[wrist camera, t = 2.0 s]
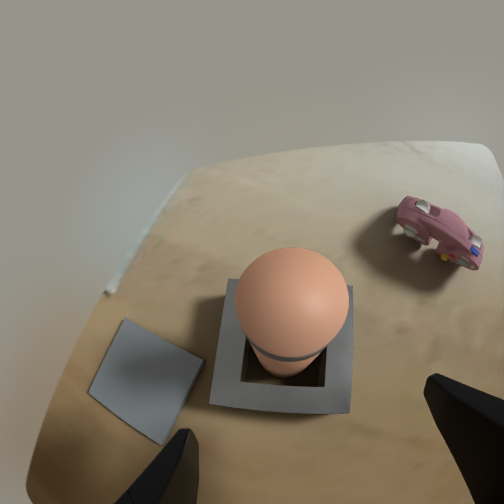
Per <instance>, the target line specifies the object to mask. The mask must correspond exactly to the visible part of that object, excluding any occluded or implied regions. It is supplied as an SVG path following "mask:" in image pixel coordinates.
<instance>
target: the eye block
mask: <svg viewBox="0 0 504 504" xmlns="http://www.w3.org/2000/svg"><path fill="white" fill-rule="evenodd" d="M239 280H240V279H228V283H227V289H226V295H225V301H224V308H223V314H222V320H221V327H220V333H219V339H218V346H217V353H216V359H215V366H214V373H213V380H212V386H211V393H210V401H209V404H215V405H221V406H227V407H234V408H242V409H250V410H260V411H271V412H284V413H305V414H347V413H350V401H351V387H352V368H353V286H347V285H346V286H347V290H348V295H349V308H348V313H347V316H346V319H345V322H344V324H343V326H342V328H341V329H340V331H339V332H338V333H337V335H336V336H335V338H334V339H333V340H332V341H331V342H330V343H329V344H328V345H327V346H326V347H325V349H323V350H322V351H321V352H320V368H319V382H318V387H300V386H283V385H269V384H258V383H249V382H246V375H247V367H248V359H249V351H250V342H249V340H248V339H247V337H246V335H245V333H244V331H243V329H242V327H241V325H240V323H239V320H238V317H237V314H236V309H235V293H236V288H237V285H238V282H239Z"/></svg>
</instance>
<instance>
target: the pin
mask: <svg viewBox="0 0 504 504" xmlns="http://www.w3.org/2000/svg"><path fill="white" fill-rule="evenodd" d="M348 308H349V295H348V290H347V286H346V283H345V280H344V278H343V277H342V275H341V273H340V272H339V270H338V269H337V268H336V267H335V266H334V265H333V263H331V262H330V261H329V260H328V259H326V258H325V257H323V256H322V255H320V254H318V253H316V252H313V251H310V250H307V249H302V248H281V249H277V250H273V251H271V252H268V253H266V254H264V255H262V256H260V257H259V258H257V259H256V260H255V261H254V262H252V263H251V264H250V265H249V266H248V267H247V268H246V270H245V271H244V273H243V274H242V276H241V278H240V280H239V282H238V285H237V288H236V293H235V309H236V314H237V317H238V320H239V323H240V325H241V327H242V329H243V331H244V333H245V335H246V337H247V339H248V340H249V342H250V344H251V346H252V348H253V349H254V351H255V353H256V355H257V357H258V359H259V361H260V363H261V364H262V366H263V368H264V369H265V370H266V371H267V372H268V373H270V374H271V375H273V376H276V377H280V378H289V377H293V376H296V375H298V374H300V373H301V372H302V371H303V370H304V369H305V368H306V367H307V366H308V365H309V364H310V363H311V362H312V361H313V360H314V359H315V358H316V357H317V356H318V355H319V354H320V352H321V351H322V350H323V349H325V347H326V346H327V345H328V344H329V343H330V342H331V341H332V340H333V339H334V338H335V336H336V335H337V333H338V332H339V331H340V329H341V328H342V326H343V324H344V322H345V319H346V316H347V313H348Z"/></svg>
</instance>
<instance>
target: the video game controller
mask: <svg viewBox="0 0 504 504" xmlns="http://www.w3.org/2000/svg"><path fill="white" fill-rule="evenodd" d="M396 221H397V222H398V224H399V225H400V226H402V227H403V228H404V230H403V231H404V233H405V234H406V235H407V236H408V237H411V238H412V239H414V240H415V241H417V242H418V243H420V244H423V245H429V243H430V241H431V239H432V238H434V239H436V240H437V241H439V244H438V246H437V249H436V251H435V252H436V253H437V254H438V255H439V256H440V257H441V259H442V260H443V261H449V262H454V263H457V264H459V265H461V266H463V267H465V268H468V269H470V270H478V268H479V266H480V264H481V262H482V257H483V252H484V245H483V242H482V239H481V238H480V237H479V236H477V235H476V234H475V233H474V232H473V231H472V230H471V229H470V228H469V227H468V226H467V225H466V224H465V223H464V221H463V220H462V219H461V218H460V217H459V216H458V215H457V214H456V213H454V212H452V211H450V210H447V209H442V208H439V207H437V206H434V205H432V204H430V203H428V202H426V201H424V200H421V199H418V198H412V197H411V196H406V197H405V198H404V199H403V200H402V202H401V203H400V204H399V207H398V210H397V217H396Z"/></svg>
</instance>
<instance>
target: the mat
mask: <svg viewBox="0 0 504 504" xmlns="http://www.w3.org/2000/svg"><path fill="white" fill-rule="evenodd" d="M204 362H205V361H204V360H202V359H200V358H198V357H196V356H194V355H192V354H190V353H188V352H186V351H184V350H182V349H181V348H179V347H177V346H175V345H173V344H171V343H169V342H167V341H165V340H164V339H162V338H160V337H158V336H156V335H155V334H153V333H151V332H149V331H148V330H146V329H144V328H142V327H141V326H139V325H137V324H136V323H134V322H132V321H131V320H129V319H127V318H126V317H125V319H124V321H123V323H122V325H121V327H120V328H119V330H118V332H117V334H116V336H115V338H114V340H113V342H112V344H111V346H110V348H109V350H108V352H107V354H106V356H105V358H104V360H103V362H102V364H101V366H100V368H99V370H98V373H97V375H96V377H95V379H94V381H93V383H92V385H91V388H90V390H89V392H88V393H89V394H91V395H92V396H93V397H94V398H95V399H97V400H98V401H99V402H100V403H102V404H103V405H104V406H105V407H107V408H108V409H109V410H110V411H112V412H113V413H114V414H116V415H117V416H118V417H120V418H121V419H122V420H124V421H125V422H127V423H128V424H129V425H131V426H132V427H134V428H135V429H137V430H138V431H140V432H141V433H143V434H144V435H146V436H147V437H149V438H150V439H152V440H153V441H155V442H157V443H158V444H160V445H164V444H165V442H166V440H167V438H168V436H169V434H170V432H171V430H172V428H173V426H174V424H175V422H176V419H177V417H178V415H179V413H180V411H181V409H182V407H183V405H184V403H185V401H186V399H187V397H188V395H189V393H190V391H191V389H192V387H193V385H194V383H195V381H196V379H197V377H198V375H199V373H200V371H201V369H202V367H203V364H204Z"/></svg>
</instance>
